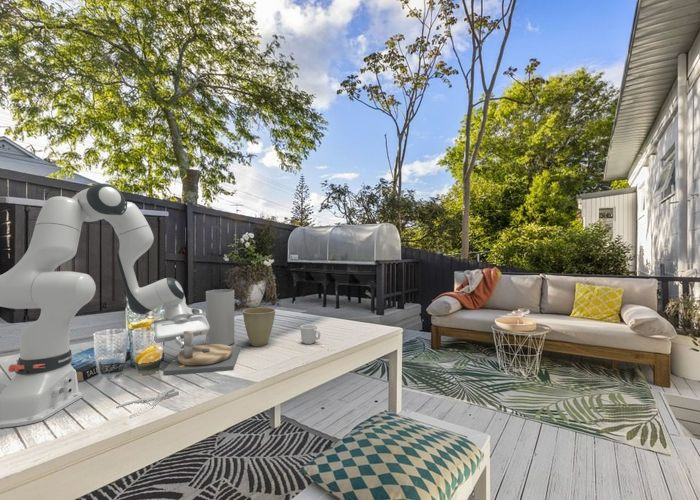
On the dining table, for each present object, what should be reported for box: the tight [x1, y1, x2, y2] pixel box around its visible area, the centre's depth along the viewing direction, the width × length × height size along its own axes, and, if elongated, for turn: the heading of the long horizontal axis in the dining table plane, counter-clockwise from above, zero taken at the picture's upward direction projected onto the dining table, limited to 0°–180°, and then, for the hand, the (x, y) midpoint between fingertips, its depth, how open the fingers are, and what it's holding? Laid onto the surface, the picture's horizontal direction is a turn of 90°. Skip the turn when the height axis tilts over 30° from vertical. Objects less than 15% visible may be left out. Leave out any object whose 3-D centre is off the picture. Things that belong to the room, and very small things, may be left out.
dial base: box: [162, 346, 241, 376], centre depth 135 cm, size 24×24×2 cm
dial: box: [177, 330, 232, 365], centre depth 135 cm, size 20×20×12 cm
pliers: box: [116, 387, 180, 417], centre depth 101 cm, size 10×2×15 cm
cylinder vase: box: [205, 288, 235, 346], centre depth 159 cm, size 12×12×25 cm
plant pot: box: [242, 307, 276, 347], centre depth 159 cm, size 15×15×16 cm
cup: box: [299, 323, 321, 345], centre depth 160 cm, size 11×8×8 cm
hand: (186, 346), depth 130 cm, fingers closed on dial
